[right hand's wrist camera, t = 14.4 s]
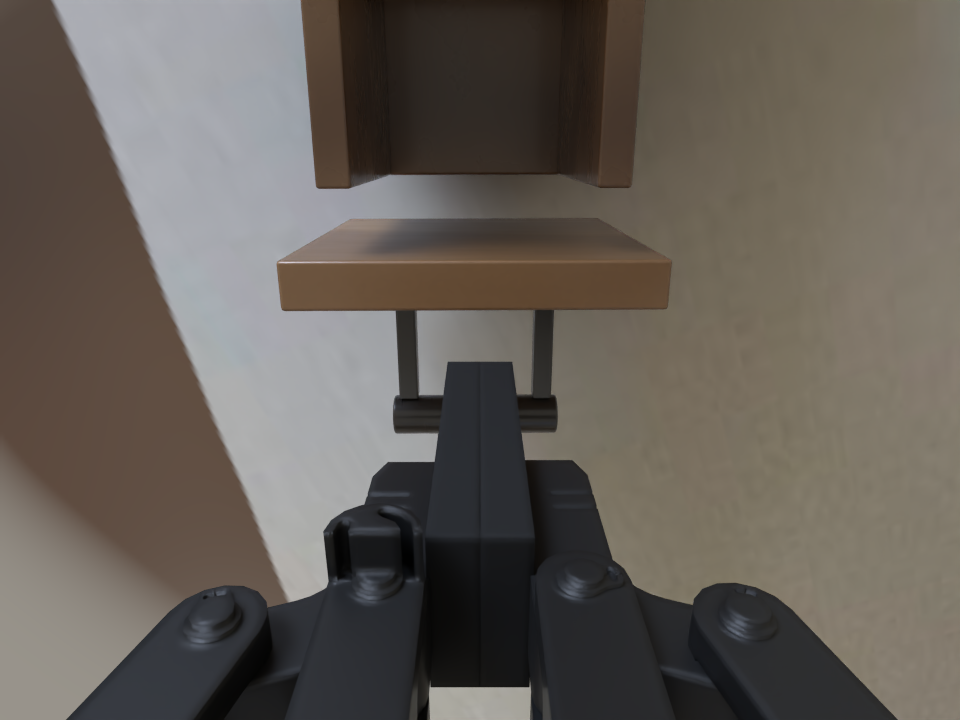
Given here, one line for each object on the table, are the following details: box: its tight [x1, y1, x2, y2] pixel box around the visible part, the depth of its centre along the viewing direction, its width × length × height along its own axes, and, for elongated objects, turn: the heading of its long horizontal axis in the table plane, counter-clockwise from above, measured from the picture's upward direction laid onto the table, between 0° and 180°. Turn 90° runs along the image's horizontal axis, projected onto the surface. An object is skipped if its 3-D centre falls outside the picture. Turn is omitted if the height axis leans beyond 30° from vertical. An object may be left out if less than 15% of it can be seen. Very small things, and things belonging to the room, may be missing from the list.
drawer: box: [277, 0, 672, 433], centre depth 17 cm, size 23×9×9 cm, turn 0°
